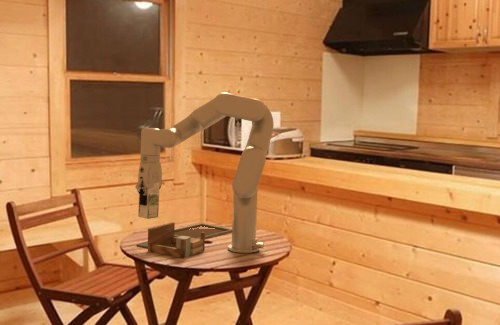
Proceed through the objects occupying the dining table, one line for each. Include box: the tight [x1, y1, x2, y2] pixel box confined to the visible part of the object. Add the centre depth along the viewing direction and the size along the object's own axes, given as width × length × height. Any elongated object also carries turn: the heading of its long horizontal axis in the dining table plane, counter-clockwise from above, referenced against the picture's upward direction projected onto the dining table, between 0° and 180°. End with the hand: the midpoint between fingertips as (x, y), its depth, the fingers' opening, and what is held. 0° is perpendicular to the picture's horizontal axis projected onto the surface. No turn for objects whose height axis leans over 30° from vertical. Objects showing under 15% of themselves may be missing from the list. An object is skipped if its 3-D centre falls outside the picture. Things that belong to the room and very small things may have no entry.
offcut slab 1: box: [191, 238, 203, 249], centre depth 226 cm, size 5×6×2 cm
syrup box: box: [137, 182, 160, 220], centre depth 232 cm, size 6×6×14 cm
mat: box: [136, 240, 148, 249], centre depth 234 cm, size 7×7×1 cm
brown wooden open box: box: [147, 221, 206, 259], centre depth 227 cm, size 16×16×9 cm
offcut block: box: [175, 236, 191, 258], centre depth 221 cm, size 4×4×7 cm
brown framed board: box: [174, 222, 232, 240], centre depth 259 cm, size 19×2×30 cm
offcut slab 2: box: [190, 246, 204, 256], centre depth 226 cm, size 5×6×2 cm
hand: (148, 203), depth 232 cm, fingers closed on syrup box, 6 cm apart
